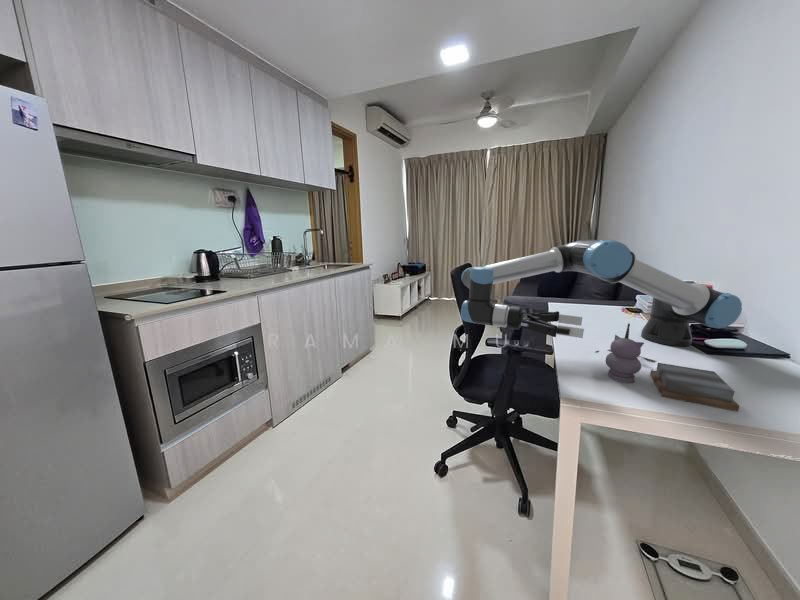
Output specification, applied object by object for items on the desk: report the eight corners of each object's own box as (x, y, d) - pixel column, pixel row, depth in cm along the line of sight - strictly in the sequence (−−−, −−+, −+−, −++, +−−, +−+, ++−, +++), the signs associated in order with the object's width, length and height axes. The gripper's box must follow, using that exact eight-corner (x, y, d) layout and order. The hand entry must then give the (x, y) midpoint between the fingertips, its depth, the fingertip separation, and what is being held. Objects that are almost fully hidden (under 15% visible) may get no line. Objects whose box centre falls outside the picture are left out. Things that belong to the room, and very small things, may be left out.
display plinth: (649, 374, 90) (652, 360, 89) (714, 386, 84) (717, 370, 83) (662, 396, 78) (665, 380, 77) (737, 411, 72) (742, 394, 71)
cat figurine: (596, 374, 91) (602, 335, 88) (613, 369, 94) (619, 332, 91) (627, 387, 83) (635, 345, 81) (644, 381, 86) (652, 341, 84)
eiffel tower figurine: (657, 363, 100) (665, 324, 97) (643, 369, 95) (650, 328, 92) (608, 348, 113) (614, 313, 110) (593, 353, 108) (598, 317, 105)
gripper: (513, 318, 112) (579, 327, 102) (499, 338, 91) (582, 352, 81) (515, 298, 110) (582, 306, 100) (501, 314, 89) (586, 325, 79)
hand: (582, 326), depth 91 cm, fingers open, 13 cm apart
